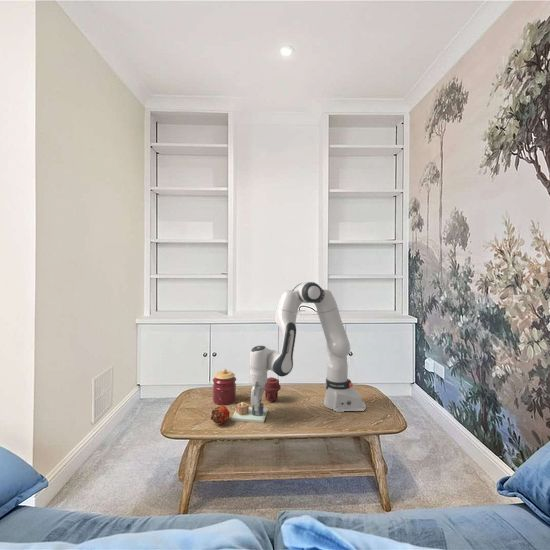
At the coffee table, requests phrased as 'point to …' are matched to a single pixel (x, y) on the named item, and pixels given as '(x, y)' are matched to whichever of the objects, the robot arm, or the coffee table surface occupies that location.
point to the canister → (224, 387)
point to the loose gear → (260, 410)
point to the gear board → (247, 414)
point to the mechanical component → (272, 389)
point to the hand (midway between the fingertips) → (258, 406)
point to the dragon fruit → (220, 415)
